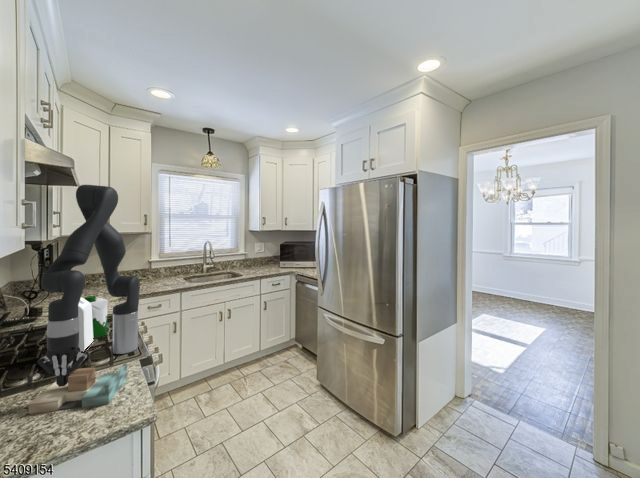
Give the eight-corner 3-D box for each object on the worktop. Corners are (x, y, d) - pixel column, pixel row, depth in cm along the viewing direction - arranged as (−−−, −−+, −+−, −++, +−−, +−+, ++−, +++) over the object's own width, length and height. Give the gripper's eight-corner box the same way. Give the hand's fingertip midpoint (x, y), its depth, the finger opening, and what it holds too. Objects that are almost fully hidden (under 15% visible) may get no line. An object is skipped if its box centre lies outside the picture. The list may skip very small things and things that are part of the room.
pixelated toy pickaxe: (59, 386, 93) (59, 369, 93) (126, 379, 99) (126, 363, 99) (28, 414, 80) (28, 394, 80) (108, 403, 85) (108, 385, 85)
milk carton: (80, 336, 134) (80, 296, 133) (102, 331, 142) (102, 293, 141) (88, 341, 130) (88, 299, 129) (110, 334, 137) (110, 295, 137)
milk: (61, 345, 124) (61, 289, 123) (93, 342, 129) (93, 287, 128) (49, 357, 113) (48, 295, 112) (84, 353, 118) (84, 293, 117)
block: (77, 383, 91) (77, 368, 90) (95, 381, 92) (95, 367, 92) (68, 392, 86) (68, 376, 86) (86, 390, 87) (86, 375, 87)
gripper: (94, 326, 92) (93, 376, 93) (46, 329, 89) (46, 381, 89) (81, 335, 85) (80, 389, 86) (28, 338, 82) (28, 394, 82)
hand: (63, 385), depth 88 cm, fingers closed
